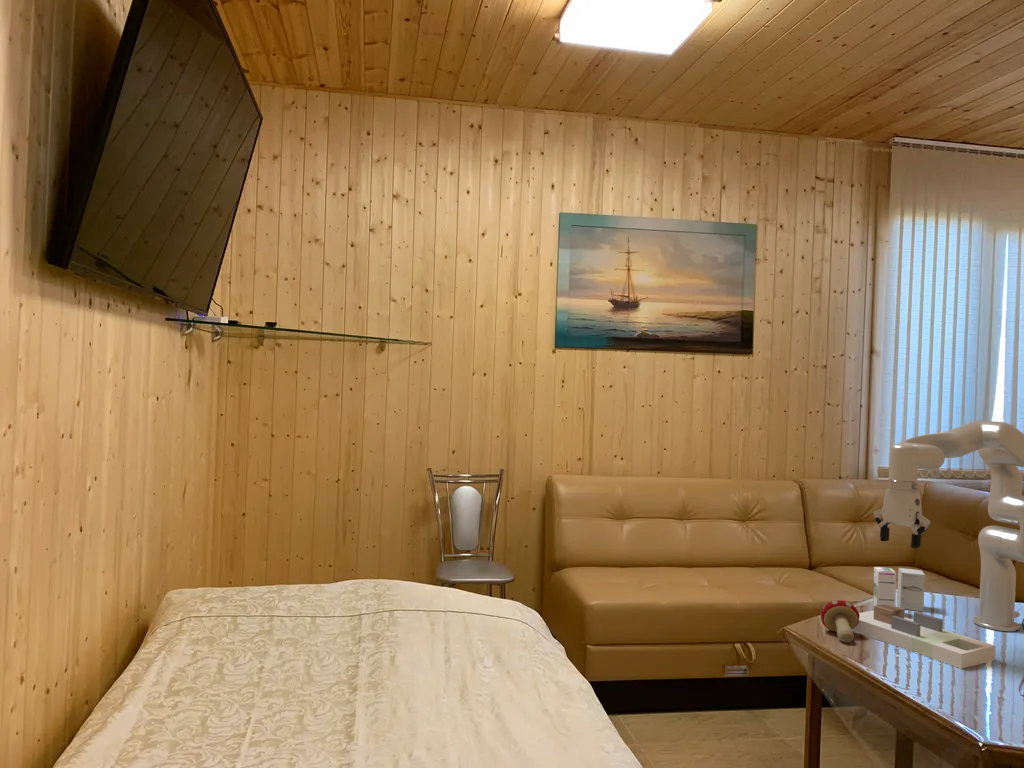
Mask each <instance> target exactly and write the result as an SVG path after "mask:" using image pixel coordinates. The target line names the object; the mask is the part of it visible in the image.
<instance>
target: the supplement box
mask: <svg viewBox="0 0 1024 768" xmlns="http://www.w3.org/2000/svg"><path fill="white" fill-rule="evenodd" d="M925 581H926V574H925V573H924V572H923V570H921V569H920V570H919V569H913V568H903V567H898V572H897V591H896V592H897V593H896V596H897V597H896V604H897V606H898V607H899V608H902V609H905V610H909V611H915V612H921V613H922V612H924V603H925V584H926V583H925Z"/></svg>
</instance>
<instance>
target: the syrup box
mask: <svg viewBox="0 0 1024 768" xmlns="http://www.w3.org/2000/svg"><path fill="white" fill-rule="evenodd" d="M896 579H897V572H896V571H895V570H894V569H893V568H892V567H885V566H884V567H883V566H874V567H873V599H872V600H873V601H872V609H873V610H874V606H877V605H883V604H889V605H892V606H896V602H897V597H896V596H897V593H896V592H897V591H896V590H897V581H896Z"/></svg>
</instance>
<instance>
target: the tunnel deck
mask: <svg viewBox="0 0 1024 768" xmlns="http://www.w3.org/2000/svg"><path fill="white" fill-rule="evenodd" d="M859 615H860V616H859V623H858V624H857V626H856V627H855V628H854V629H852V631H853V632H854V631H855V632H854V633H857V634H859V635H862V636H865V637H868V636H869V638H871V637H872V638H871V639H874V638H875V639H874V640H877V639H878V641H880V642H883V643H885V642H886V644H888V643H889V644H888V645H891V644H892V645H891V646H894V645H895V646H894V647H897V646H899V647H898V648H900V647H901V648H900V649H903V648H904V650H905V649H907V650H906V651H908V650H910V651H909V652H911V651H913V652H912V653H914V652H917V653H920V654H922V655H921V656H923V655H925V656H928V657H931V658H933V659H932V660H934V659H936V660H935V661H937V660H939V661H938V662H940V661H941V662H940V663H943V662H945V663H947V664H946V665H948V664H950V665H949V666H951V665H953V666H952V667H954V666H955V667H954V668H957V667H958V668H957V669H960V670H961V669H965V668H970V667H974V666H977V665H981V664H982V665H983V664H984V663H985V664H986V663H990V662H992V661H993V662H994V661H995V660H996V651H997V650H996V646H997V645H994V644H991V643H988V642H985V641H981V640H978V639H975V638H972V637H968V636H965V635H962V634H960V633H959V634H958V633H956V632H952V631H950V630H947V629H943V626H944V625H943V621H944V619H943V618H941V617H940V618H939V617H937V616H933V615H930V614H926V613H922V612H921V611H914V612H913V619H911V618H908V617H906V616H904V619H903V618H900V617H897V616H892V621H891V625H890V624H887V623H884V622H881V621H878V620H875V619H874V609H873V610H869V611H863V612H859ZM917 653H916V654H917ZM920 654H919V655H920ZM925 656H924V657H925ZM928 657H927V658H928ZM931 658H930V659H931ZM945 663H944V664H945Z"/></svg>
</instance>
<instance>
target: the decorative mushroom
mask: <svg viewBox="0 0 1024 768" xmlns="http://www.w3.org/2000/svg"><path fill="white" fill-rule="evenodd" d="M859 613H860V612H859V610H858V608H857V607H856V606H855V605H854V604H852V603H851V602H849V601H846V600H843V599H842V600H840V599H836V600H831V601H829V602H828V603H826V604H825V605H824V606H823V608H822V609H821V612H820V617H819V618H820V620H821V623H822V624H823V626H824V627H825V628H827V630H829V631H831V632H834V633H836V635H837V637H838V640H840V642H842V643H844V644H845V643H846V644H848V643H849V644H850V643H851V642H852V641H853V639H854V638H855V634H854V631H852V629H854V628H855V627H856V626H857V624H858V623H859V616H860V615H859Z"/></svg>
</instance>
